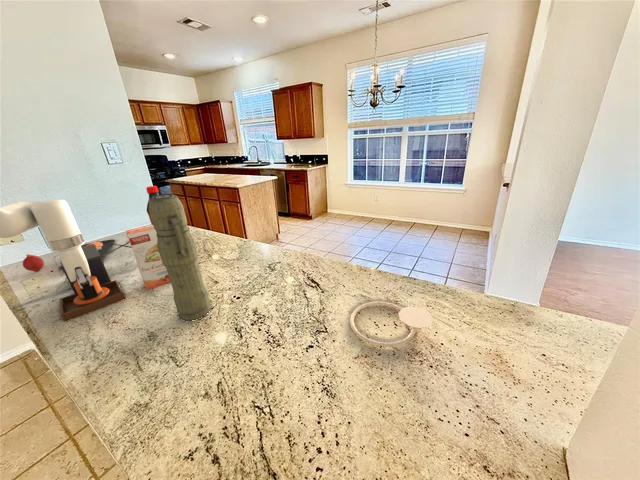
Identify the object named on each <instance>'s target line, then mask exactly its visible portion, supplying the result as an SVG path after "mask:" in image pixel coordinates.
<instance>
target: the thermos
mask: <svg viewBox="0 0 640 480" xmlns="http://www.w3.org/2000/svg"><path fill="white" fill-rule="evenodd" d="M148 201H149V213H150V216H151V219H152V222H153V226H154V229H155V230H156V232H157V234H156V235H157V248H158V251H159V254H160V257H161V260H162V263H163V265H164V266H165V267H166V269H167V272H168V275H169V278H170V282H169V283H170V285H171V288H172V291H173V301H174V304H175V308H176V311H177V312H178V314H179V318H180V320H181V319H182V320H181V321H183V320H185V321H192V320H196V319H199V318H201V317H203V316H205V315H206V314H207V313H209V311H210V310H211V311H212V305H211V297H210V295H209V290H208V288H207V287H206V286H205V283H204V279H203V275H202V270H201V268H200V267H201V266H200V263H199V260H198V258H199V252H198V248H197V244H196V241H195V237H194V236H193V234H192V233H191V232H190V228H189V226H188V220H187V216H186V215H187V214H186V212H185V208H184V205H183V203H182V201H181V199H179V197H178V195H176V194H174V193H163V194H159V195H157V196H154V197H152V198H151V199H149V198H148ZM211 311H210V312H211ZM209 314H210V313H209ZM205 317H206V316H205ZM199 320H200V319H199ZM185 321H184V322H185ZM192 322H193V321H192Z"/></svg>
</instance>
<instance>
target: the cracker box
mask: <svg viewBox="0 0 640 480" xmlns="http://www.w3.org/2000/svg"><path fill="white" fill-rule="evenodd" d="M125 233H126V236H127V238H128V242H129V241H130V243H129V244H130V247H132V248H131V250H132V253H133V256H134V258H135V261H136V264H137V267H138V270H139V273H140V275H141V278H142V281H143V285H144V287H145V289H146V290H147V291H148V290H151V289H154V288H157V287H160V286H163V285H165V284H169V283H171V282H170V278H169V275H168V272H167V269H166V267H165V266H164V265H163V263H162V260H161V257H160V254H159V251H158V248H157V235H156V234H157V232H156V230H155V229H154V226H153V225H151V224H150V225H146V226H140V227H136V228H131V229H127V230H125Z"/></svg>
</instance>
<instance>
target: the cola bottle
mask: <svg viewBox="0 0 640 480" xmlns="http://www.w3.org/2000/svg"><path fill="white" fill-rule="evenodd" d="M145 190H146V193H147V195H148V201H147V204H146V213H147V215H148V219H149V221H150V225H153V222H152V219H151V216H150V213H149V199H151V198H152V197H154V196H157V195H160V193H159V192H160V191H159V188H158V186H157V185H149V186H147V187H145Z"/></svg>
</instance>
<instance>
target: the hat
mask: <svg viewBox="0 0 640 480" xmlns="http://www.w3.org/2000/svg"><path fill="white" fill-rule="evenodd" d="M89 278H90V281H91V283H92V285H94V287H95V289H96V291H97V293H98V296H96V297H93V298H90V299H87V300H85V298H84V296H83V294H82V292H81V290H80V286H79V283H78V281H76V282H75V283H74V287H75V289H76V291H77V293H78V296H77V297H76V298H75V299H74V303H75V304H76V305H85V304H89V303H93V302H95V301H98V300H100V299H102V298H104V297H105V296H106V295H107V294H108V293H109V289H108V288H106V287H100V285H99V282H98V280H97V278H96V277H95V276H91V277H89ZM86 281H88V280H87V279H86Z"/></svg>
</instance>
